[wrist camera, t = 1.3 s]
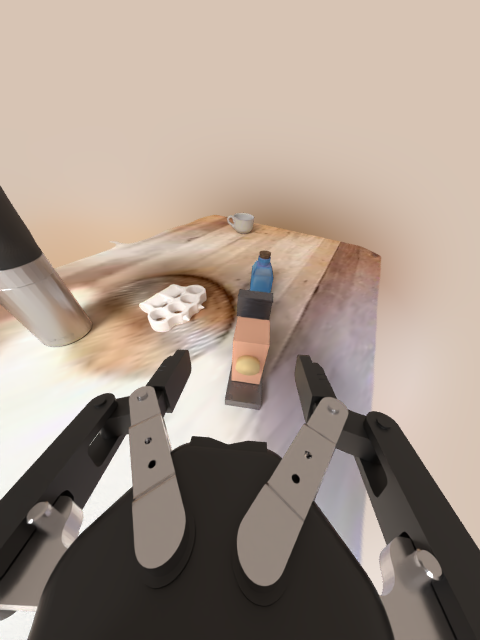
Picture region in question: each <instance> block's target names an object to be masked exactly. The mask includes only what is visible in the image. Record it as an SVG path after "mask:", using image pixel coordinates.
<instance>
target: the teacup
mask: <svg viewBox="0 0 480 640" xmlns="http://www.w3.org/2000/svg"><path fill="white" fill-rule="evenodd" d="M229 218H232V219H233V221H234V224H232V223H231V222H230V221H229ZM227 221H228V223H229V224H230V225H231V226H232V227H233V228H234V229H235V230H236V231H237V232H238V233H241V234H247V233H249V232H250V231H251V230H252V228H253V222H254V216H253V215H251V214H247V213H237V214H235V215H234V217H233V216H232V215H230V216H228V218H227Z"/></svg>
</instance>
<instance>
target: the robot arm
mask: <svg viewBox="0 0 480 640" xmlns="http://www.w3.org/2000/svg"><path fill="white" fill-rule="evenodd" d="M0 304H1V305H2V306H3V307H4V308H5V309H6V310H8V311H9V312H10V313H11V314H12V315H13V316H14V317H15V318H16V319H17V320H18V321H19V322H20V323H22V324H23V325H24V326H25V327H26V328H27V329H28V330H29V331H30V332H31V333H32V334H33V335H34V336H35V337H37V338H38V339H39V340H40V341H41V342H42V343H43V344H44V345H46V346H50V347H58V346H64V345H68V344H70V343H73V342H75V341H77V340H79V339H80V338H82V337H83V336H85V335H86V334H87V333H88V332H89V331H90V329H91V327H92V322H91V320H90V319H89V318H88V316H87V315H86V313H85V312H84V311H83V309H82V308H81V306H80V305H79V303H78V302H77V300H76V299H75V298H74V296H73V295H72V293H71V292H70V290H69V289H68V288H67V286H66V285H65V283H64V282H63V281H62V279H61V278H60V276H59V275H58V273H57V272H56V271H55V269H54V268H53V267H52V265H51V264H50V262H49V261H48V259H47V258H46V257H45V255H44V254H43V252H42V251H41V249H40V248H39V247H38V245H37V244H36V242H35V240H34V238H33V237H32V235H31V233H30V231H29V230H28V228H27V227H26V225H25V224H24V222H23V221H22V219H21V218H20V216H19V215H18V213H17V212H16V210H15V209H14V207H13V206H12V204H11V202H10V201H9V199H8V198H7V196H6V194H5V193H4V191H3V189H2V188H1V186H0ZM190 373H191V361H190V356H189V351H188V350H177V351H176V352H175V354H174V355H173V356H169V357H168V358H167V359H165V360H164V361H163V363H162V364H161V365H160V367H159V368H158V370H157V371H156V372H155V374H154V375H153V377H152V378H151V379H150V381H149V382H148V383H147V385H146V386H144V387H141V388H139V389H137V390H135V391H134V392H133V393H132V394H131V395H130V396H128V397H123V398H118V399H116V398H115V396H114V395H113V394H111V393H106V394H102V395H99V396H97V397H95V398H94V399H92V400H91V401H90V402H89V403H88V404H87V405H86V406H85V408H84V409H83V410H82V411H81V412H80V413H79V414H78V415H77V416H76V417H75V419H74V420H73V421H72V422H71V423H70V424H69V425H68V426H67V427H66V428H65V430H64V431H63V432H62V433H61V434H60V435H59V436H58V437H57V438H56V439H55V441H54V442H53V443H52V444H51V445H50V446H49V447H48V448H47V449H46V451H45V452H44V453H43V454H42V455H41V456H40V457H39V458H38V459H37V460H36V462H35V463H34V464H33V465H32V466H31V467H30V468H29V469H28V470H27V471H26V473H25V474H24V475H23V476H22V477H21V478H20V479H19V480H18V481H17V482H16V484H15V485H14V486H13V487H12V488H11V489H10V490H9V491H8V492H7V493H6V495H5V496H4V497H3V498H2V499H1V500H0V620H3V619H6V618H8V617H9V616H11V615H12V614H13V613H15V612H16V611H35V612H36V613H35V617H34V620H33V624H32V627H31V630H30V633H29V636H28V639H27V640H480V550H479V548H478V547H477V545H476V544H475V542H474V541H473V539H472V538H471V536H470V535H469V533H468V532H467V530H466V529H465V527H464V525H463V524H462V522H461V521H460V519H459V518H458V516H457V515H456V513H455V512H454V510H453V509H452V507H451V505H450V504H449V502H448V501H447V499H446V498H445V496H444V495H443V493H442V492H441V490H440V489H439V487H438V485H437V484H436V483H435V481H434V479H433V478H432V476H431V475H430V473H429V472H428V470H427V469H426V467H425V466H424V464H423V462H422V461H421V459H420V458H419V456H418V455H417V453H416V452H415V450H414V449H413V447H412V446H411V444H410V442H409V441H408V439H407V438H406V436H405V435H404V433H403V432H402V430H401V429H400V427H399V426H398V424H397V423H396V422H395V421H394V420H393V419H392V418H390V417H389V416H387V415H385V414H383V413H380V412H375V411H372V412H369V413H368V414H367V416H364V415H361V414H358V413H355V412H352V411H350V410H348V409H347V407H346V406H345V405H344V404H343V403H342V402H341V401H339V400H338V399H337V398H336V396H335V394H334V392H333V390H332V387H331V385H330V383H329V381H328V379H327V377H326V375H325V372H324V370H323V368H322V367H321V366H320V365H319V364H318V363H312V361H311V358H310V356H309V355H298V356H297V362H296V368H295V381H296V385H297V389H298V393H299V397H300V401H301V406H302V410H303V414H304V418H305V422H306V424H304V425H303V426H302V428H301V429H300V431H299V433H298V434H297V436H296V437H295V439H294V441H293V442H292V444H291V446H290V447H289V449H288V450H287V452H286V454H285V455H284V457H283V459H282V458H281V457H280V456H279V455H278V454H276V453H275V452H273V451H271V450H268V449H267V442H256V441H244V442H239V443H234V444H225V443H222V442H220V441H217V440H215V439H212V438H209V437H197V436H192V438H191V441H190V443H186V444H183V445H181V446H179V447H177V448H176V449H174V450H173V451H172V447H171V444H170V440H169V436H168V433H167V429H166V425H165V421H164V418H163V417H164V415H165V413H172V412H173V410H174V408H175V406H176V404H177V401H178V399H179V397H180V395H181V393H182V391H183V389H184V387H185V384H186V382H187V380H188V378H189V376H190ZM98 433H99V434H98ZM97 434H98V435H97ZM126 434H129V441H130V455H131V469H132V483H133V486H132V487H131V488H130V489H129V490H128V491H127V492H126V493H125V494H124V495H123V496H122V497H120V498H119V499H118V500H117V501H116V502H115V503H114V504H113V505H112V506H111V507H109V508H108V509H107V510H106V511H105V512H104V513H103V514H102V515H101V516H100V517H98V518H97V519H96V520H95V521H94V522H93V523H92V524H91V525H90V526H89V527H88V528H86V529H85V530H84V531H83V532H82V533H81V534H80V535H79V529H80V527H81V524H82V521H83V511H82V509H83V507H84V506H85V504H86V502H87V501H88V499H89V497H90V496H91V494H92V492H93V490H94V489H95V487H96V485H97V484H98V482H99V480H100V478H101V477H102V475H103V473H104V472H105V470H106V468H107V466H108V465H109V463H110V461H111V460H112V458H113V456H114V454H115V453H116V451H117V449H118V448H119V446H120V444H121V442H122V441H123V439H124V437H125V436H126ZM96 435H97V436H96ZM95 437H96V438H95ZM94 438H95V439H94ZM93 440H94V441H93ZM92 441H93V442H92ZM91 442H92V443H91ZM90 444H91V445H90ZM335 448H337V449H339V450H342V451H344V452H346V453H349V454H351V455H354V457H355V460H356V463H357V465H358V468H359V471H360V473H361V476H362V479H363V482H364V484H365V487H366V490H367V493H368V495H369V498H370V500H371V503H372V506H373V508H374V511H375V514H376V517H377V520H378V522H379V525H380V528H381V531H382V533H383V536H384V539H385V541H386V544H387V546H386V547H385V548H384V549H383V550H382V552H381V553H380V559H379V560H380V561H379V562H380V569H381V573H382V578H383V592H382V595H381V596H380V595H379V594H378V592H377V590H376V588H375V587H374V585H373V583H372V581H371V580H370V578H369V577H368V575H367V573H366V572H365V571H364V569H363V568H362V566H361V565H360V564H359V562H358V561H357V559H356V558H355V557H354V555H353V554H352V553H351V551H350V550H349V548H348V547H347V546H346V544H345V543H344V541H343V540H342V539H341V537H340V536H339V534H338V533H337V532H336V530H335V529H334V528H333V526H332V525H331V523H330V522H329V521H328V519H327V518H326V516H325V515H324V514H323V512H322V511H321V510H320V508H319V507H318V505H317V504H316V503H315V501H314V500H315V498H316V495H317V493H318V490H319V488H320V485H321V483H322V480H323V478H324V475H325V473H326V470H327V468H328V465H329V463H330V460H331V458H332V455H333V453H334V450H335ZM78 535H79V536H78Z"/></svg>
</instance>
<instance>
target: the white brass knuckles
mask: <svg viewBox="0 0 480 640" xmlns="http://www.w3.org/2000/svg"><path fill="white" fill-rule="evenodd" d="M179 295H180V296H179ZM177 296H179V297H178V298H176V297H177ZM206 299H207V298H206V290H205V288H204V287H202V286H200V285H191V286H188V287H181V286H179V285H176V284H172V285H170V286H169V287H167V288H166V289H164V290H162V291H161V292H159V293H157V294H155V295H154V296H152V297H151V298H149V299H147V300H146V301H144V302H142V303H140V304H139V307H140V308H141V309H142V310H143V311H144V312H146V313H148V319H149V322H150V324H151V327H152V329H153V330H155V331H158V332H165V331H169V330H171V328H172V327H174V326H175V325H177V324H181V323H185V322H186V321H190V318H191V317H192V316H193V315H194V314H196V313H198V312H199V311H200V309H203V308H204V307H203V306H202V305H201V304H202V303H203V302H205V301H206ZM166 304H167V305H166ZM164 305H166V306H165V307H163V306H164ZM176 311H183V312H181V313H174V312H176ZM159 318H166V319H164V320H162V321H155V320H157V319H159Z"/></svg>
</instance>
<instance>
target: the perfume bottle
mask: <svg viewBox="0 0 480 640" xmlns="http://www.w3.org/2000/svg"><path fill="white" fill-rule="evenodd" d="M270 255H271V253H270V252H269V251H260V255H259V257H258V261H256V262H255V264H254V265H253V266H252V275H251V284H250V290H251V291H259V292H267V293H270V292H271V287H272V282H273V271H272V266H271V263H270V259H271V257H270Z"/></svg>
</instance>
